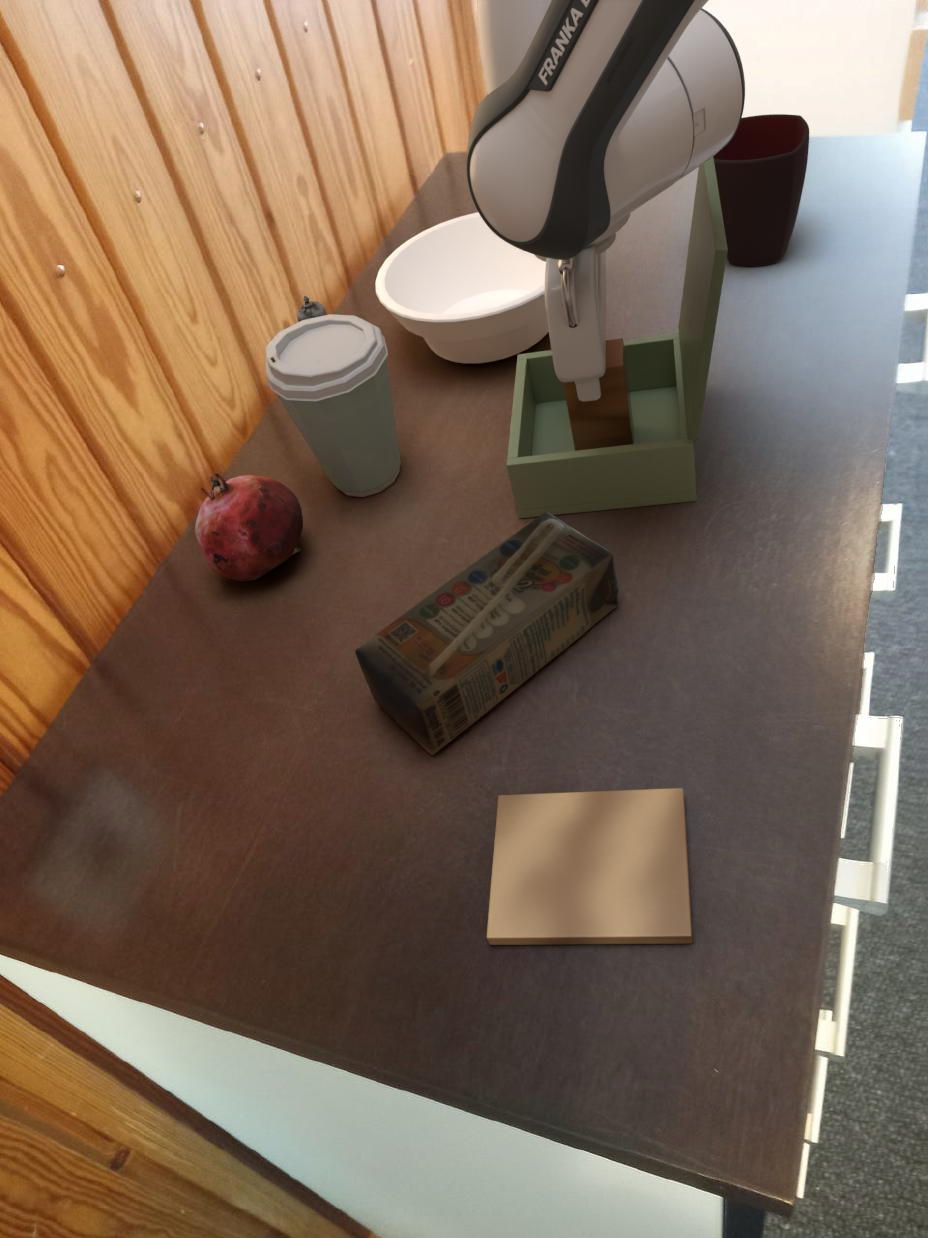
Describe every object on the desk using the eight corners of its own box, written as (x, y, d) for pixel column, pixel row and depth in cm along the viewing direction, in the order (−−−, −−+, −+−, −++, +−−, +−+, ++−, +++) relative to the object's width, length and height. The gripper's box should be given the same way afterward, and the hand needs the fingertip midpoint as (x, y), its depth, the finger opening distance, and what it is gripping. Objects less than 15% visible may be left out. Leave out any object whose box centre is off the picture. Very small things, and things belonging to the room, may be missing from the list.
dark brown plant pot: (701, 279, 106) (695, 165, 98) (718, 212, 115) (714, 102, 106) (802, 275, 103) (805, 156, 94) (812, 206, 112) (815, 91, 103)
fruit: (337, 549, 90) (300, 460, 83) (251, 614, 87) (205, 527, 80) (279, 510, 96) (239, 423, 88) (196, 570, 92) (148, 485, 85)
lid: (715, 249, 68) (728, 249, 68) (701, 145, 79) (711, 145, 79) (687, 439, 80) (698, 439, 80) (678, 327, 90) (687, 327, 90)
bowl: (516, 257, 118) (502, 188, 112) (634, 320, 104) (626, 244, 98) (361, 341, 113) (338, 273, 107) (463, 419, 99) (444, 345, 93)
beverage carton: (627, 607, 78) (617, 545, 73) (434, 765, 72) (410, 708, 67) (556, 561, 83) (542, 500, 78) (369, 705, 77) (343, 648, 72)
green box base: (519, 518, 88) (506, 465, 83) (528, 406, 98) (517, 354, 94) (697, 501, 84) (693, 444, 80) (687, 387, 95) (683, 331, 91)
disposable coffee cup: (398, 426, 101) (354, 288, 90) (443, 482, 93) (400, 339, 82) (300, 472, 99) (242, 337, 88) (337, 532, 92) (279, 393, 81)
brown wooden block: (633, 425, 91) (623, 337, 85) (634, 453, 89) (623, 365, 82) (577, 431, 92) (562, 345, 86) (576, 460, 90) (561, 373, 83)
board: (684, 796, 66) (683, 787, 65) (692, 944, 59) (691, 936, 59) (500, 803, 69) (497, 794, 68) (489, 945, 62) (486, 938, 61)
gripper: (612, 266, 67) (631, 435, 77) (610, 132, 81) (627, 290, 91) (516, 280, 68) (547, 445, 78) (531, 146, 82) (556, 300, 92)
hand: (590, 361), depth 85 cm, fingers open, 8 cm apart
